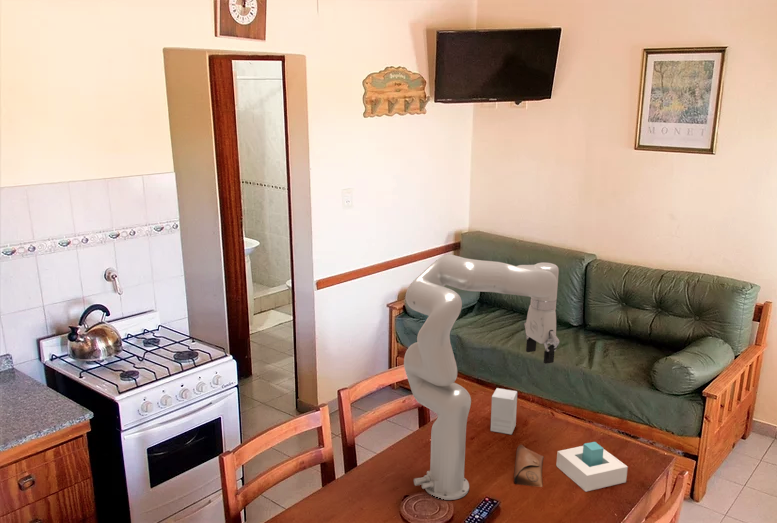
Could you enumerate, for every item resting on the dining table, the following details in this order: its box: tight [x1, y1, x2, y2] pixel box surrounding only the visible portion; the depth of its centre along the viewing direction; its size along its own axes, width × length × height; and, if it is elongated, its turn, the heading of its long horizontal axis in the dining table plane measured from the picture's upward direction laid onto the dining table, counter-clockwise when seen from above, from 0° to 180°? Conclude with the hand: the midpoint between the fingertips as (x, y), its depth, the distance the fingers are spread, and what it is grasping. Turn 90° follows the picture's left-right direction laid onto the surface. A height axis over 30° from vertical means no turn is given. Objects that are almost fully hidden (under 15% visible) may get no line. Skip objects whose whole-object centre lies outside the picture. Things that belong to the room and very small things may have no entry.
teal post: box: [582, 441, 604, 467], centre depth 187 cm, size 4×4×9 cm
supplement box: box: [490, 387, 518, 436], centre depth 213 cm, size 7×7×13 cm
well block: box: [556, 445, 629, 492], centre depth 188 cm, size 14×14×5 cm
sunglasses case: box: [513, 444, 545, 488], centre depth 190 cm, size 18×7×7 cm, turn 167°
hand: (539, 357), depth 197 cm, fingers open, 9 cm apart
